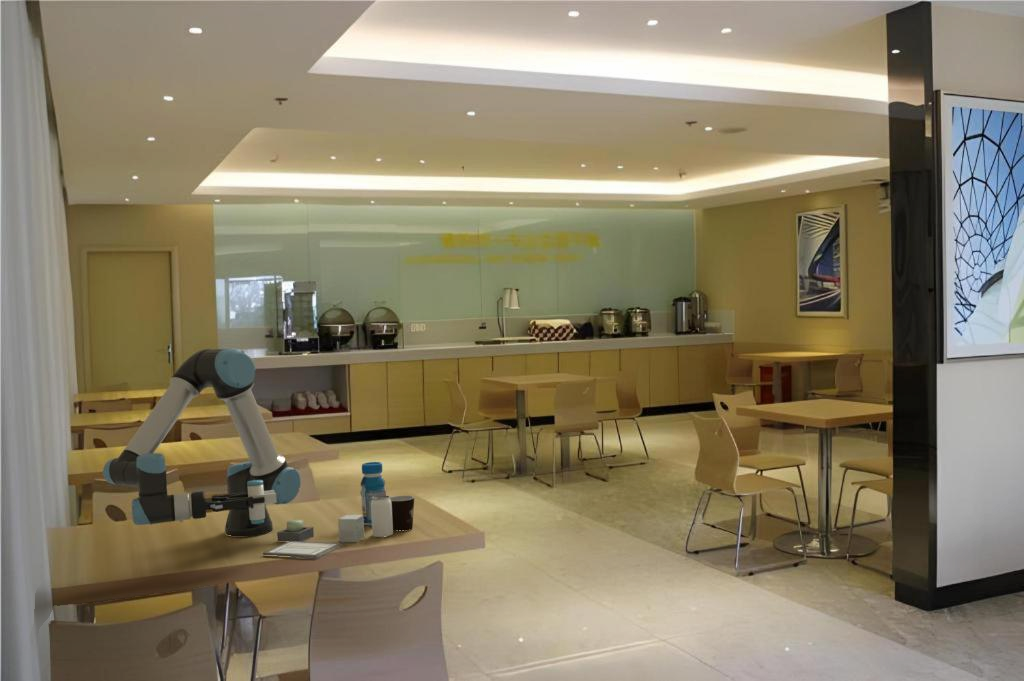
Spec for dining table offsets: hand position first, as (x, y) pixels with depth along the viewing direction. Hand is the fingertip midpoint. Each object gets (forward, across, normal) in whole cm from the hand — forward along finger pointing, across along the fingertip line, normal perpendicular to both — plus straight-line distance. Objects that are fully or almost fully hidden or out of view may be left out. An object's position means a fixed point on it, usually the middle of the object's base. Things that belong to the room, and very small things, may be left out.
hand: (275, 496), depth 269 cm
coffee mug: (+41, -15, -18) cm, 48 cm away
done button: (+7, -19, -15) cm, 26 cm away
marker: (-5, 0, -7) cm, 9 cm away
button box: (+7, -19, -18) cm, 27 cm away
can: (+33, -10, -18) cm, 39 cm away
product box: (+23, -9, -18) cm, 30 cm away
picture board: (+7, -2, -18) cm, 19 cm away
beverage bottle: (+34, -28, -18) cm, 48 cm away
